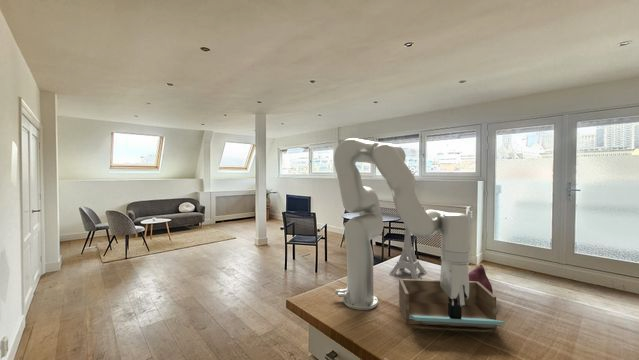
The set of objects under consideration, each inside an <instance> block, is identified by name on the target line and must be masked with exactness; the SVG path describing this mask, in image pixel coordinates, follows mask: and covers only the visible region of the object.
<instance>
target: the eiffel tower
mask: <svg viewBox="0 0 639 360" xmlns="http://www.w3.org/2000/svg"><path fill="white" fill-rule="evenodd" d="M411 234H412V233H411V232H410V231H409V230H408V228H407V227H406V226H405V229H404V241H403V247H402V248H401V249H402V251H401V253H400V256H399V259H398V260H397V261H396V264H395V266H394V267H393V269H392V270H391V271H390V272H389V273H388V276H393V277H394V276H396V275H397V272H398V270H405V269H407V271H409V272H410V274H411V279H419V280H420V278H419V276H418V271H419V274H422V273H423V274H422V275H426V274H427V273H428V272H427V271H426V269H425V268H424V267H423V266H422V265H421V263H420V259H417V257H416V254H415V251H414V247H413V244H412V243H413V242H412V235H411ZM399 268H400V269H399ZM417 269H418V271H417Z"/></svg>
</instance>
